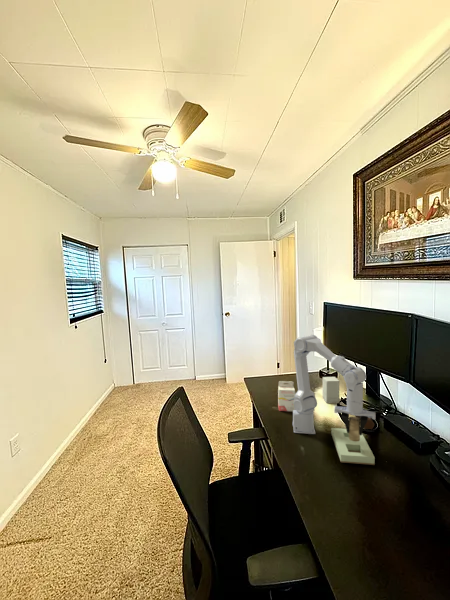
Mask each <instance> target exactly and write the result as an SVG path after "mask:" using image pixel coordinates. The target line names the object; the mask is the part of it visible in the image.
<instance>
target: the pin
mask: <svg viewBox="0 0 450 600" xmlns="http://www.w3.org/2000/svg"><path fill="white" fill-rule="evenodd" d="M349 439H350V440H352V441H360V419H359V418H357V417H355V416H349Z"/></svg>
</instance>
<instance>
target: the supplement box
mask: <svg viewBox="0 0 450 600" xmlns="http://www.w3.org/2000/svg"><path fill="white" fill-rule="evenodd" d="M322 399H323V400H324V402H325V403H326V404H339V403H340V380H339V379H338V378H337V377H336V376H322Z"/></svg>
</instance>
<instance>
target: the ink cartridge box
mask: <svg viewBox="0 0 450 600" xmlns="http://www.w3.org/2000/svg"><path fill="white" fill-rule="evenodd" d="M294 383H295V382H294V381H289V380H288V381H287V380H279V381H278V386H277V388H278V389H277V393H278V394H277V408H278V411H279V412H293V410H296V409H295V408H294V395H295V394H296V389H295V387H294Z"/></svg>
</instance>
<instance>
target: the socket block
mask: <svg viewBox="0 0 450 600" xmlns="http://www.w3.org/2000/svg"><path fill="white" fill-rule="evenodd" d="M330 430H331V433H330V434H331V436H332V437H331V438H332V441H333V443H334V446H335V450H336V452H337V455H338V458H339V461H340V463H344V464H345V463H346V464H358V465H359V464H360V465H371V466H375V464H376V463H375V459H376V458H375V455H374V454H373V451H372V450H371V448H370V446H369V444H368V442H367V440H366V438H365V436H364V435H363V433H362V435H360V441H352V440H350V439H349V433H347V430H346V428H337V427H331V428H330Z"/></svg>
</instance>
